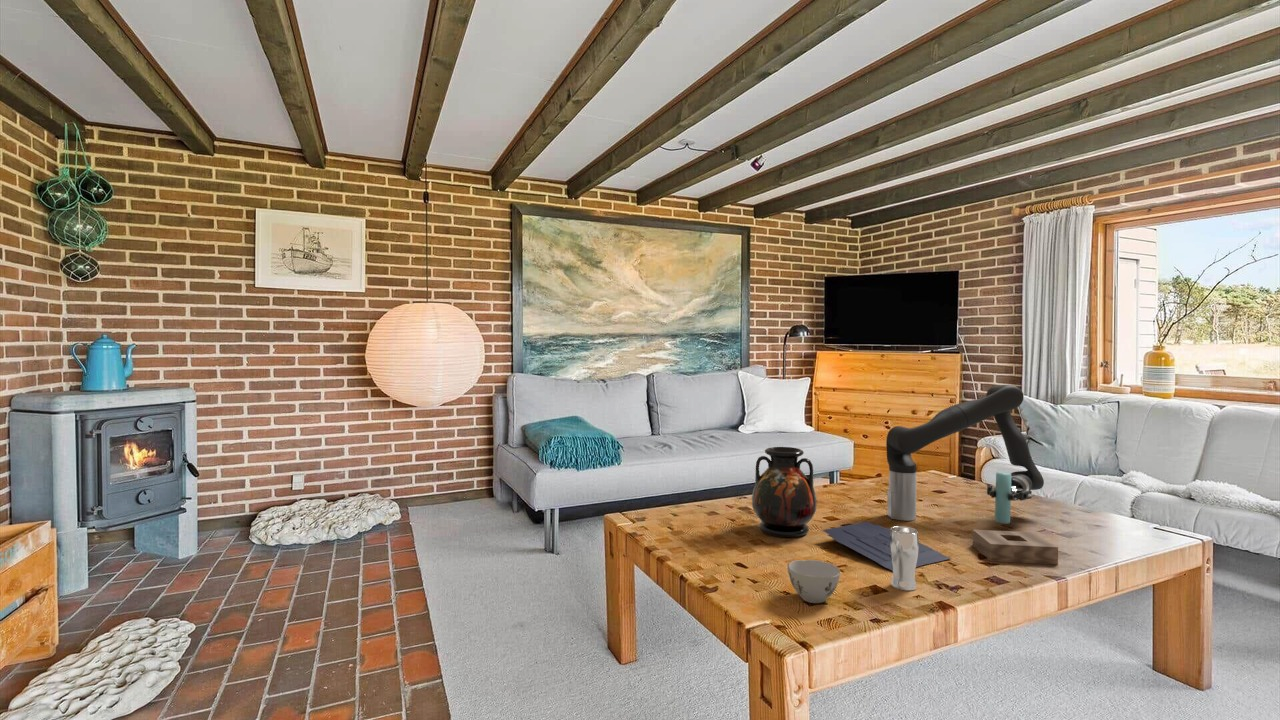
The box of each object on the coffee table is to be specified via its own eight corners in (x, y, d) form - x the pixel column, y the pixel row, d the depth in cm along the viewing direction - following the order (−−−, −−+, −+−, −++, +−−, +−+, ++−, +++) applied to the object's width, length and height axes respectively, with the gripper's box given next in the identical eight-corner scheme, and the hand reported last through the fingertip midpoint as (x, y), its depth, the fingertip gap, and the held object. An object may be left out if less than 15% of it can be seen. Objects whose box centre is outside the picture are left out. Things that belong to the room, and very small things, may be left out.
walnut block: (990, 560, 178) (990, 543, 178) (972, 545, 192) (972, 529, 192) (1057, 564, 175) (1058, 547, 175) (1034, 548, 189) (1035, 532, 189)
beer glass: (910, 580, 163) (910, 525, 163) (923, 591, 156) (923, 533, 156) (884, 581, 163) (885, 525, 162) (896, 591, 156) (897, 533, 155)
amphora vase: (748, 538, 199) (748, 453, 199) (755, 520, 220) (755, 443, 219) (816, 544, 193) (816, 456, 192) (817, 525, 214) (817, 446, 213)
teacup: (851, 602, 150) (851, 570, 149) (815, 614, 143) (815, 580, 143) (805, 581, 162) (805, 552, 162) (770, 591, 156) (770, 561, 156)
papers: (869, 528, 206) (870, 518, 205) (950, 567, 180) (952, 555, 179) (816, 539, 194) (817, 528, 194) (895, 582, 168) (896, 570, 168)
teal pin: (998, 522, 200) (999, 474, 200) (992, 519, 205) (993, 472, 204) (1012, 523, 200) (1013, 475, 199) (1006, 519, 204) (1008, 472, 204)
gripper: (992, 473, 217) (977, 481, 205) (1038, 480, 207) (1026, 488, 195) (991, 494, 217) (976, 503, 205) (1038, 502, 207) (1025, 511, 195)
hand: (1000, 495), depth 200 cm, fingers closed on teal pin, 4 cm apart
